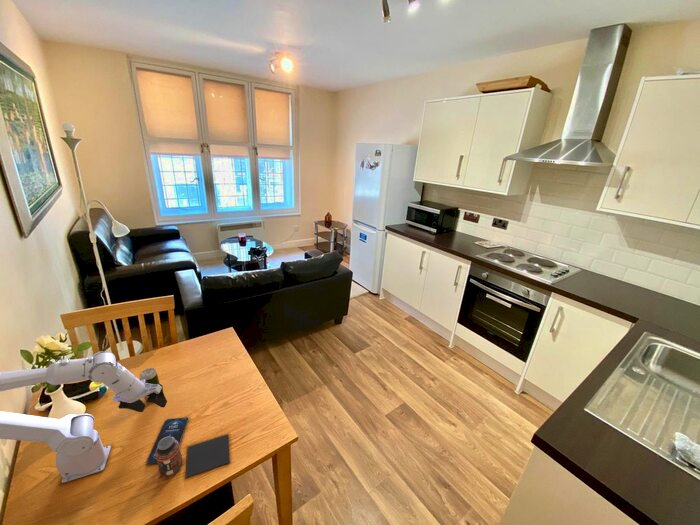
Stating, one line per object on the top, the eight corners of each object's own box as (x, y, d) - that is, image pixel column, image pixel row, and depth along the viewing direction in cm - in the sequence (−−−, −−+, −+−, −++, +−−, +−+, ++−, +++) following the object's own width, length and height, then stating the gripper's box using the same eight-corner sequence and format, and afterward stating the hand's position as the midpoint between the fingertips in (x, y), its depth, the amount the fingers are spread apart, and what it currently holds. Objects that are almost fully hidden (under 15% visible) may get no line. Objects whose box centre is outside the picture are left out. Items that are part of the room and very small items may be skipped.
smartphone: (145, 463, 86) (165, 419, 100) (145, 464, 87) (165, 420, 100) (173, 459, 88) (189, 416, 101) (173, 460, 88) (189, 417, 102)
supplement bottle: (176, 478, 84) (169, 454, 79) (155, 476, 84) (147, 452, 79) (187, 457, 89) (181, 433, 84) (167, 455, 89) (161, 432, 84)
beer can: (159, 402, 107) (152, 377, 102) (142, 404, 106) (135, 379, 101) (164, 390, 112) (158, 366, 107) (149, 392, 111) (142, 368, 106)
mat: (185, 478, 84) (185, 477, 84) (188, 447, 92) (188, 446, 92) (229, 462, 89) (229, 462, 89) (228, 434, 97) (228, 434, 97)
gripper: (154, 367, 87) (179, 390, 95) (111, 376, 88) (140, 399, 96) (142, 388, 81) (170, 411, 89) (96, 398, 82) (128, 420, 90)
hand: (154, 406), depth 92 cm, fingers open, 7 cm apart
